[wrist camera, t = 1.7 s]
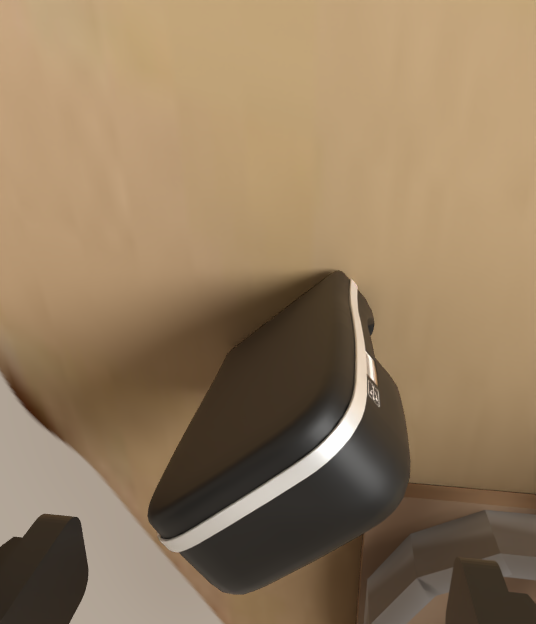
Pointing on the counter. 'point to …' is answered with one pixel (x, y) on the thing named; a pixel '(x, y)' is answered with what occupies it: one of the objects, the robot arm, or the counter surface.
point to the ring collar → (442, 550)
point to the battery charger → (287, 447)
